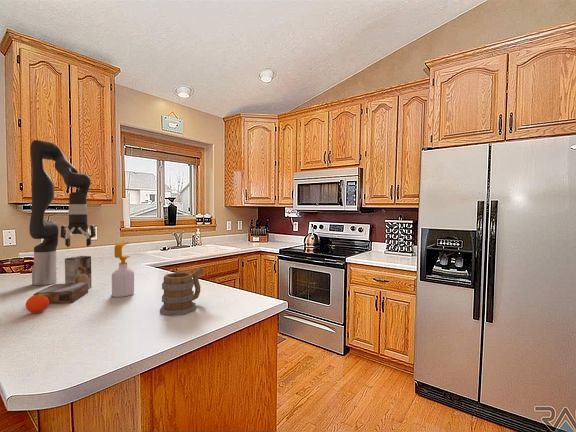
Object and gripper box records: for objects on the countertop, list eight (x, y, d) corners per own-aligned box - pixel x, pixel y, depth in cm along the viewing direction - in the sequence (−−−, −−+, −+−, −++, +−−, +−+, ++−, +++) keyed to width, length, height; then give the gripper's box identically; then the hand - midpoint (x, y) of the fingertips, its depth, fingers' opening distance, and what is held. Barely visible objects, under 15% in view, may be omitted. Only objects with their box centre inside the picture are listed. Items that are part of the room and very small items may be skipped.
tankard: (174, 318, 108) (174, 277, 107) (154, 311, 114) (154, 273, 114) (215, 303, 125) (215, 268, 124) (195, 298, 131) (195, 265, 131)
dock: (31, 306, 120) (31, 293, 120) (53, 294, 136) (53, 283, 136) (71, 303, 123) (71, 291, 123) (88, 292, 140) (87, 282, 140)
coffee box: (81, 286, 151) (81, 255, 151) (91, 287, 150) (91, 255, 149) (64, 291, 142) (64, 258, 142) (75, 292, 141) (75, 258, 140)
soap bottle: (138, 292, 140) (138, 241, 140) (122, 298, 131) (121, 243, 131) (124, 291, 143) (124, 240, 143) (107, 296, 134) (107, 242, 134)
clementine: (50, 307, 118) (50, 290, 118) (54, 311, 114) (54, 293, 114) (23, 312, 112) (23, 294, 112) (27, 317, 108) (27, 297, 107)
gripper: (57, 213, 140) (57, 247, 140) (91, 213, 143) (91, 246, 144) (65, 213, 147) (65, 245, 147) (97, 213, 151) (97, 245, 151)
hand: (78, 246), depth 146 cm, fingers open, 8 cm apart
